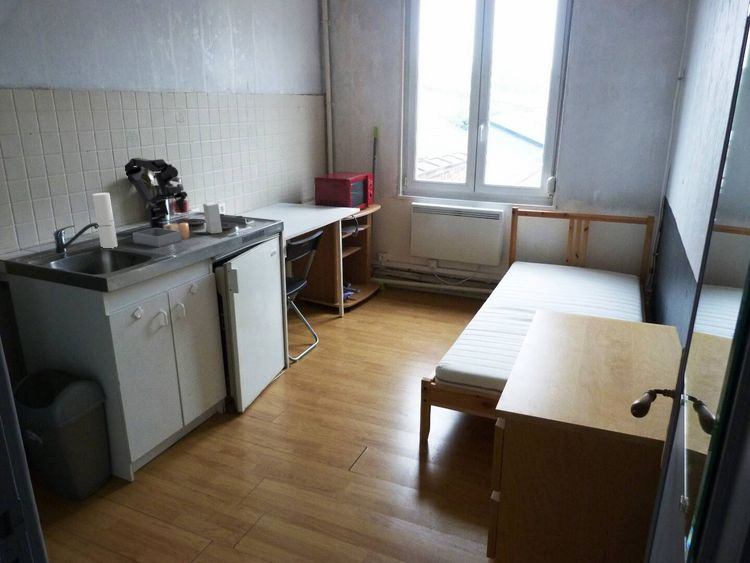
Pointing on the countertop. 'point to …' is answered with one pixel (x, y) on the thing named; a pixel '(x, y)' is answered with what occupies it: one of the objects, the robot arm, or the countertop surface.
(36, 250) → the countertop surface
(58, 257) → the countertop surface
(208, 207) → the skincare box
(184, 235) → the terracotta cylinder
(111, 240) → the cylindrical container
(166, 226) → the beech cube
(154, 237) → the tote
